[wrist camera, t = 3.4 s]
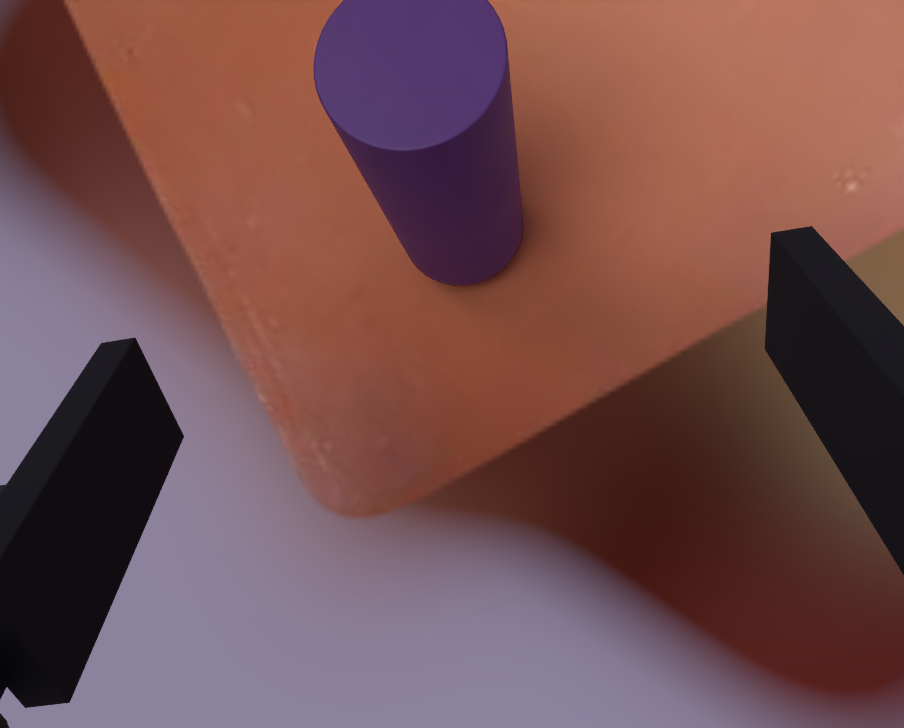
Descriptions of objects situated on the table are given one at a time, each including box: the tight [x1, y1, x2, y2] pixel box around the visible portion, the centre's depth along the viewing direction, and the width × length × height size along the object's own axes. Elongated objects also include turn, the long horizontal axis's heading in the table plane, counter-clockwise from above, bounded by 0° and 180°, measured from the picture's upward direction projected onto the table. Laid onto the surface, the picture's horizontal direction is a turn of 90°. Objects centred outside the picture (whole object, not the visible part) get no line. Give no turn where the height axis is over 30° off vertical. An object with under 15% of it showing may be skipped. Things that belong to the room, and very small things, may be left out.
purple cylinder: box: [314, 0, 523, 285], centre depth 23 cm, size 4×4×12 cm
